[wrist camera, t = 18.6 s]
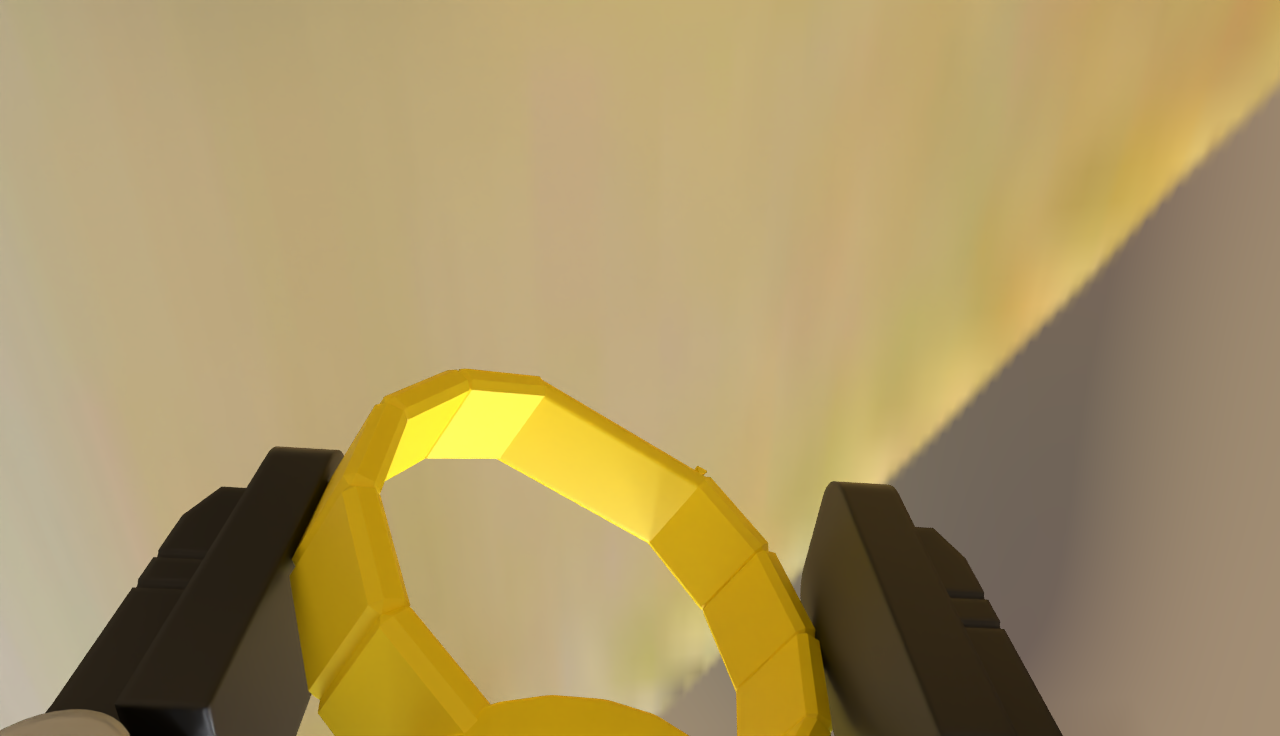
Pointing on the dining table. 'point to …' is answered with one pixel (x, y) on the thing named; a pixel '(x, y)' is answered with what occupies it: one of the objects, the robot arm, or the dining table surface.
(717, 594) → the watch
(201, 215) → the dining table surface
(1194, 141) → the dining table surface
